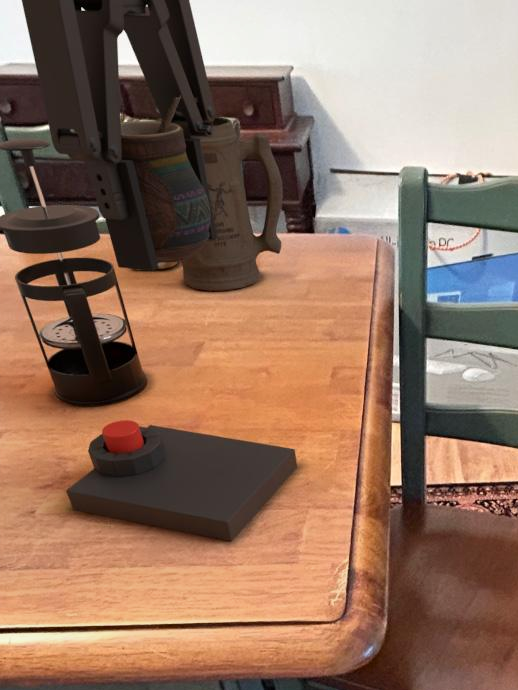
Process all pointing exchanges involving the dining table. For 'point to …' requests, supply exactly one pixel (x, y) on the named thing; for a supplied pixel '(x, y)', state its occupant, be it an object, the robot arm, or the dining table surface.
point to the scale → (183, 481)
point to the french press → (72, 298)
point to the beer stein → (234, 212)
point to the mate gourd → (167, 187)
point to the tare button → (122, 436)
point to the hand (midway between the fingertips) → (170, 250)
